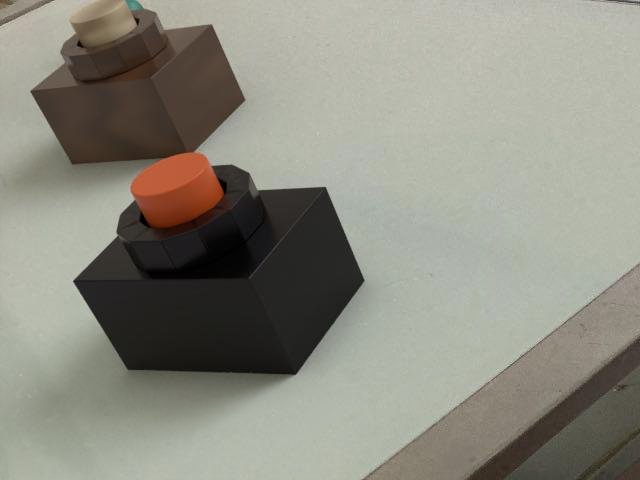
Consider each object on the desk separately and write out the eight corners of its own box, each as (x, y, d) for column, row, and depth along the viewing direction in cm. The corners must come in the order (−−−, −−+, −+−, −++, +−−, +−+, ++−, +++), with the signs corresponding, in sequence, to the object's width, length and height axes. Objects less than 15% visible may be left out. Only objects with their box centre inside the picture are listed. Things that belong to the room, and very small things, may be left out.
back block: (71, 165, 85) (15, 66, 80) (131, 110, 90) (81, 14, 84) (189, 157, 80) (137, 51, 75) (246, 100, 85) (200, -3, 80)
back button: (72, 53, 80) (57, 25, 78) (105, 27, 82) (91, -1, 81) (116, 48, 78) (102, 19, 77) (148, 21, 80) (135, -7, 79)
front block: (127, 370, 62) (52, 250, 57) (204, 282, 67) (141, 164, 62) (296, 375, 57) (231, 245, 52) (365, 281, 62) (312, 153, 57)
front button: (133, 232, 57) (113, 197, 55) (176, 188, 59) (158, 154, 58) (197, 230, 55) (179, 194, 54) (239, 185, 58) (222, 149, 56)
